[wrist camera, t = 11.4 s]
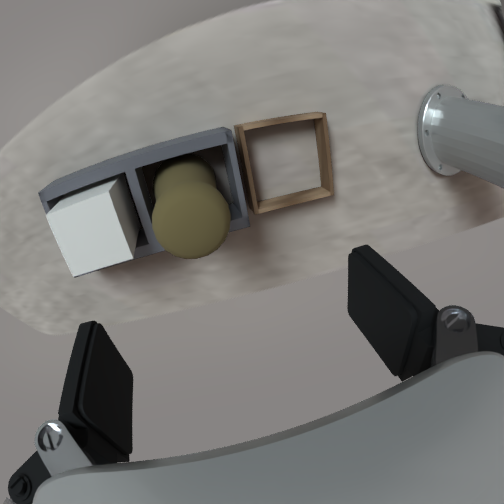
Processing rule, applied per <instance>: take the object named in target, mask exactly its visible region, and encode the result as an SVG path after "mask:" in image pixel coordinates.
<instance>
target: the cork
mask: <svg viewBox="0 0 504 504" xmlns="http://www.w3.org/2000/svg"><path fill="white" fill-rule="evenodd" d="M153 192H154V195H155V198H156V204H155V207H154V210H153V213H152V229H153V231H154V234H155V237H156V239H157V241H158V242H159V243H160V245H161V246H162V247H163V248H164V249H165V250H166V251H167V252H169V253H171V254H172V255H174V256H176V257H180V258H184V259H198V258H201V257H204V256H207V255H209V254H211V253H212V252H214V251H215V250H217V249H218V248H219V247H220V246H221V244H222V243H223V242H224V241H225V239H226V237H227V235H228V232H229V230H230V219H231V214H230V210H229V206H228V204H227V202H226V200H225V199H224V197H223V196H222V194H221V193H220V192H219V191H218V190H217V187H216V178H215V174H214V171H213V169H212V168H211V166H210V165H209V163H208V162H207V161H205V160H204V159H203V158H201V157H200V156H197V155H194V154H191V153H187V154H183V155H179V156H176V157H172V158H168V159H166V160H165V161H164V162H162V163H161V165H160V166H159V167H158V169H157V170H156V172H155V175H154V178H153Z"/></svg>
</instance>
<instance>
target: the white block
mask: <svg viewBox="0 0 504 504" xmlns="http://www.w3.org/2000/svg"><path fill="white" fill-rule="evenodd" d="M46 217H47V220H48V222H49V225H50V227H51V230H52V232H53V234H54V237H55V239H56V241H57V243H58V246H59V248H60V250H61V252H62V254H63V257H64V259H65V261H66V263H67V265H68V267H69V269H70V271H71V273H72V275H73V277H74V276H78V275H81V274H84V273H87V272H90V271H94V270H97V269H100V268H103V267H107V266H110V265H113V264H117V263H120V262H123V261H127V260H130V259H133V258H134V252H135V247H136V242H137V237H138V233H139V228H140V222H139V220H138V217H137V214H136V211H135V208H134V205H133V202H132V198H131V195H130V192H129V189H128V186H127V183H126V179H125V176H124V173H120V174H117V175H114V176H111V177H108V178H106V179H103V180H100V181H97V182H94V183H92V184H89V185H86V186H84V187H81V188H78V189H76V190H73V191H71V192H68V193H67V194H66V195H65V196H64V197H63V198H62V199H61V200H60V201H59V202H58V203H57V204H56V205H55V206H54V207H53V208H52V209H51V210H50V211H49V212H48V213H47V214H46Z"/></svg>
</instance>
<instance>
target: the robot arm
mask: <svg viewBox="0 0 504 504" xmlns="http://www.w3.org/2000/svg"><path fill="white" fill-rule="evenodd" d="M418 140H419V146H420V149H421V153H422V155H423V158H424V160H425V161H426V163H427V164H428V166H429V167H430V168H431V169H432V170H433V171H435V172H437V173H439V174H442V175H445V176H451V175H454V174H456V173H458V172H460V171H461V170H462V171H465V172H467V173H470V174H472V175H474V176H477V177H479V178H481V179H484V180H486V181H488V182H491V183H493V184H495V185H497V186H499V187H501V188H504V106H499V105H495V104H490V103H485V102H480V101H475V100H469V99H468V98H467V96H466V95H465V94H464V93H463V92H462V91H461V90H460V89H458V88H457V87H455V86H451V85H440V86H437V87H435V88H433V89H432V90H431V91H430V92H429V93H428V94H427V96H426V98H425V99H424V101H423V104H422V106H421V109H420V113H419V119H418ZM348 313H349V315H350V317H351V318H352V320H353V321H354V322H355V324H356V325H357V326H358V328H359V329H360V331H361V332H362V333H363V334H364V336H365V337H366V338H367V340H368V341H369V343H370V344H371V345H372V347H373V348H374V349H375V351H376V352H377V354H378V355H379V356H380V358H381V359H382V360H383V362H384V363H385V365H386V366H387V367H388V369H389V370H390V371H391V373H392V374H393V375H394V376H397V375H398V376H399V378H400V379H401V381H404V380H406V379H408V378H410V377H412V376H413V377H412V378H410V379H408V380H406V381H404V382H402V383H400V384H398V385H396V386H394V387H392V388H389V389H387V390H385V391H383V392H381V393H379V394H377V395H375V396H372V397H370V398H368V399H366V400H364V401H361V402H359V403H357V404H355V405H352V406H350V407H347V408H345V409H343V410H340V411H338V412H335V413H333V414H330V415H328V416H325V417H322V418H320V419H317V420H314V421H312V422H309V423H306V424H303V425H300V426H297V427H294V428H291V429H288V430H285V431H282V432H278V433H275V434H272V435H269V436H265V437H262V438H258V439H254V440H251V441H247V442H243V443H239V444H235V445H231V446H227V447H222V448H218V449H213V450H208V451H203V452H198V453H193V454H187V455H181V456H175V457H169V458H161V459H153V460H145V461H137V462H129V454H131V453H132V400H133V398H132V397H133V374H132V371H131V370H130V368H129V367H128V365H127V364H126V362H125V361H124V359H123V358H122V356H121V355H120V353H119V352H118V350H117V348H116V347H115V345H114V344H113V342H112V341H111V339H110V337H109V336H108V335H107V332H106V331H105V329H104V328H103V326H102V325H101V324H100V323H98V324H97V322H96V321H90V322H86V323H82V324H80V326H79V329H78V332H77V336H76V339H75V343H74V346H73V350H72V354H71V357H70V361H69V365H68V370H67V374H66V378H65V382H64V387H63V392H62V396H61V401H60V406H59V412H58V414H59V418H58V420H48V421H46V422H45V423H43V424H42V425H41V426H40V427H39V428H38V430H37V432H36V435H35V447H36V449H37V451H36V452H35V453H34V454H33V455H32V456H31V457H30V458H29V459H28V460H27V461H26V462H25V463H24V464H23V465H22V466H21V467H20V468H19V469H18V470H17V471H16V472H15V473H14V474H13V475H12V477H11V478H10V481H9V485H8V491H9V495H10V499H8V498H6V500H5V501H4V504H504V328H502V327H495V326H489V325H482V324H476V323H475V319H474V317H473V315H472V314H471V313H470V312H469V311H468V310H467V309H465V308H463V307H460V306H456V305H452V306H446V307H444V308H442V309H441V310H440V311H439V310H438V309H437V308H436V307H435V305H434V304H433V303H432V302H431V301H430V300H429V299H428V298H427V297H426V296H425V295H424V294H423V293H422V292H420V291H419V290H418V289H417V288H416V287H415V286H414V285H413V284H412V283H411V282H410V281H408V280H407V279H406V278H405V277H404V276H403V275H402V274H401V273H400V272H399V271H397V270H396V269H395V268H394V267H393V266H392V265H391V264H390V263H388V262H387V261H386V260H385V259H384V258H383V257H382V256H380V255H379V254H378V253H377V252H376V251H375V250H373V249H372V248H371V247H370V246H369V245H363V246H360V247H357V248H354V249H352V253H350V254H349V256H348ZM117 462H127V463H117Z"/></svg>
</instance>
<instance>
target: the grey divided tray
mask: <svg viewBox="0 0 504 504" xmlns="http://www.w3.org/2000/svg"><path fill="white" fill-rule="evenodd" d="M218 145H221V146H222V151H223V156H224V160H225V165H226V170H227V175H228V180H229V184H230V189H231V194H232V198H233V204H229V205H228V206H229V210H230V214H231V219H230V230H229V232H232V231H235V230H239V229H243V228H246V227H250V223H249V218H248V213H247V208H246V202H245V197H244V192H243V187H242V182H241V177H240V172H239V167H238V162H237V157H236V152H235V147H234V142H233V136H232V131H231V130H230V129H227V128H225V127H220V128H216V129H211V130H207V131H203V132H199V133H195V134H191V135H187V136H183V137H179V138H176V139H172V140H169V141H165V142H161V143H158V144H155V145H151V146H148V147H145V148H142V149H138V150H135V151H132V152H129V153H126V154H123V155H120V156H117V157H114V158H111V159H108V160H106V161H103V162H100V163H97V164H95V165H92V166H89V167H87V168H84V169H81V170H79V171H76V172H74V173H71V174H69V175H66V176H64V177H62V178H59V179H57V180H55V181H53V182H51V183H50V184H49V185H47V186H46V187H45V188H44V189H42V190H41V191H40V192H38V194H39V196H40V199H41V202H42V205H43V207H44V210H45V212H46V214H47V213H48V212H49V211H50V210H51V209H52V208H53V207H54V206H55V205H56V204H57V203H58V202H59V201H60V200H61V199H62V198H63V197H64V196H63V194H66V193H68V192H71V191H73V190H76V189H78V188H81V187H84V186H86V185H89V184H92V183H94V182H97V181H100V180H103V179H106V178H108V177H111V176H114V175H117V174H120V173H123V172H125V173H126V176H127V179H128V183H129V186H130V189H131V192H132V196H133V199H134V202H135V205H136V208H137V211H138V214H139V217H140V220H141V223H142V226H143V229H141V230H139V233H138V237H137V242H136V247H135V252H134V258H133V259H130V260H127V261H131V260H134V259H137V258H141V257H144V256H148V255H151V254H154V253H158V252H161V251H165V249H164V248H163V247H162V246H161V245H160V243H159V242H158V241H157V239H156V237H155V234H154V231H153V229H152V213H153V210H154V207H153V204H152V201H151V198H150V194H149V191H148V188H147V184H146V181H145V178H144V174H143V171H142V166H145V165H148V164H151V163H155V162H158V161H161V160H165V159H168V158H172V157H176V156H179V155H183V154H187V153H190V152H194V151H198V150H202V149H206V148H210V147H214V146H218ZM127 261H123V262H120V263H117V264H121V263H124V262H127ZM117 264H113V265H110V266H107V267H111V266H114V265H117ZM107 267H103V268H100V269H97V270H94V271H98V270H101V269H104V268H107ZM94 271H90V272H87V273H84V274H81V275H78V276H82V275H85V274H88V273H91V272H94ZM78 276H74V277H78Z"/></svg>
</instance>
